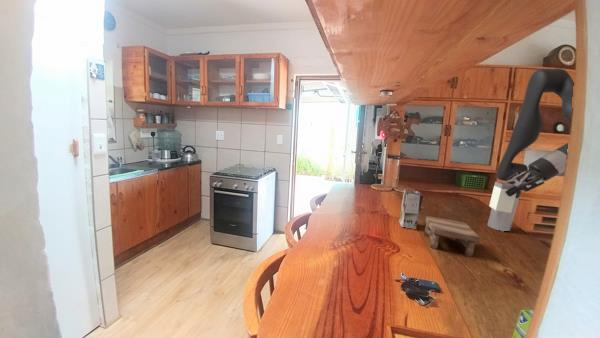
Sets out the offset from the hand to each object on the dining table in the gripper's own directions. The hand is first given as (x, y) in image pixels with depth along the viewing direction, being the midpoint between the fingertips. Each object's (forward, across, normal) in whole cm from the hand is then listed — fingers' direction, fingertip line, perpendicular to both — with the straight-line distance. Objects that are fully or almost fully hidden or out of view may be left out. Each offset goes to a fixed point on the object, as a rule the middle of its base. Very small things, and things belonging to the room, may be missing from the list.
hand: (503, 192), depth 97 cm
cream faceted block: (+5, 0, +5) cm, 7 cm away
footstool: (+28, +2, +6) cm, 29 cm away
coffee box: (+37, -12, -3) cm, 39 cm away
